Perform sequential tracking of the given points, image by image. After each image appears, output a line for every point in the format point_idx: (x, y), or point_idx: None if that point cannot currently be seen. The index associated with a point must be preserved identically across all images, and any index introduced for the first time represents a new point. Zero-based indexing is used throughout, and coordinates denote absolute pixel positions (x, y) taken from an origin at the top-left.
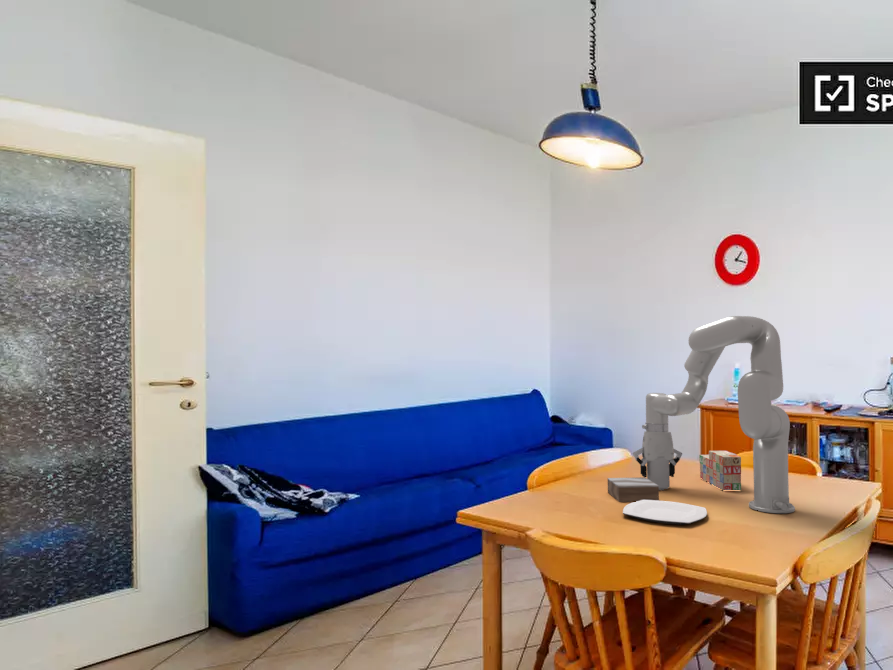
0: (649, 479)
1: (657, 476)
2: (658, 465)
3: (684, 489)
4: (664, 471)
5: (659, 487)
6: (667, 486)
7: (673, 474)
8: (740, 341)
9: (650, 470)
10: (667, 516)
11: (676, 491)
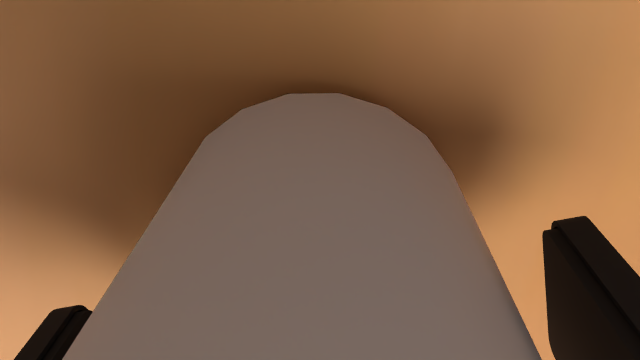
0: (471, 219)
1: (349, 170)
2: (316, 337)
3: (9, 200)
4: (171, 247)
5: (320, 95)
6: (200, 146)
7: (38, 332)
8: None
9: (507, 308)
10: None
11: (97, 74)
